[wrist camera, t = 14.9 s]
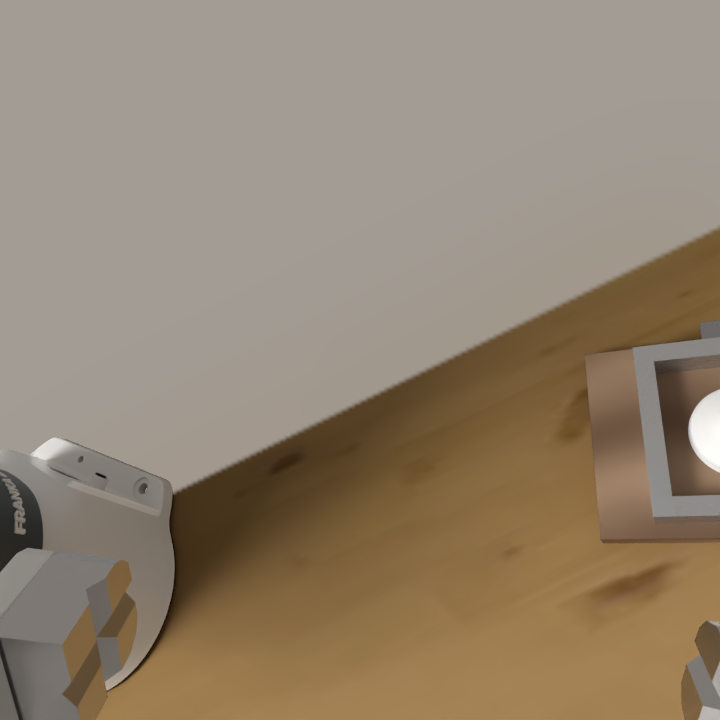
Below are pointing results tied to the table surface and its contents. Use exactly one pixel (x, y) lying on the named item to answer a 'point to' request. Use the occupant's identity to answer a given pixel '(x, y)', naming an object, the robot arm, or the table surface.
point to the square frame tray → (708, 352)
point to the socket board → (627, 452)
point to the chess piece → (706, 430)
